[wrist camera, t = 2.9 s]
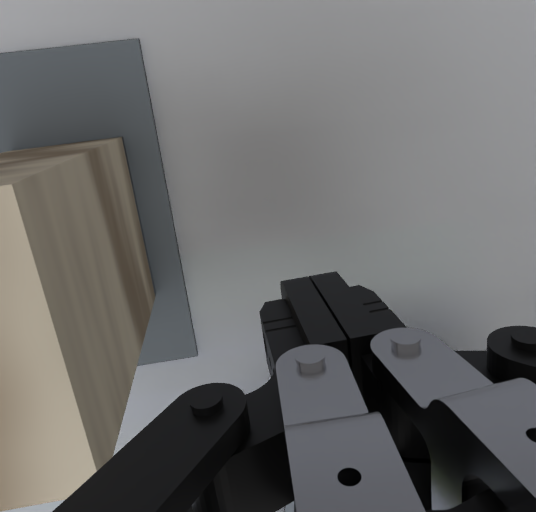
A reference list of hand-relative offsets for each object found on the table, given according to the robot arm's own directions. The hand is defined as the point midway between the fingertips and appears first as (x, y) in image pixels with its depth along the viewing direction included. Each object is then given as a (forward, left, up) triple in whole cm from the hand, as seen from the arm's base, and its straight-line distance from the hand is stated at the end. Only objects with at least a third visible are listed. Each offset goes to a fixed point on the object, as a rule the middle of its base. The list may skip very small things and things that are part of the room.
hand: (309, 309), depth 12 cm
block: (+8, 0, -12) cm, 14 cm away
